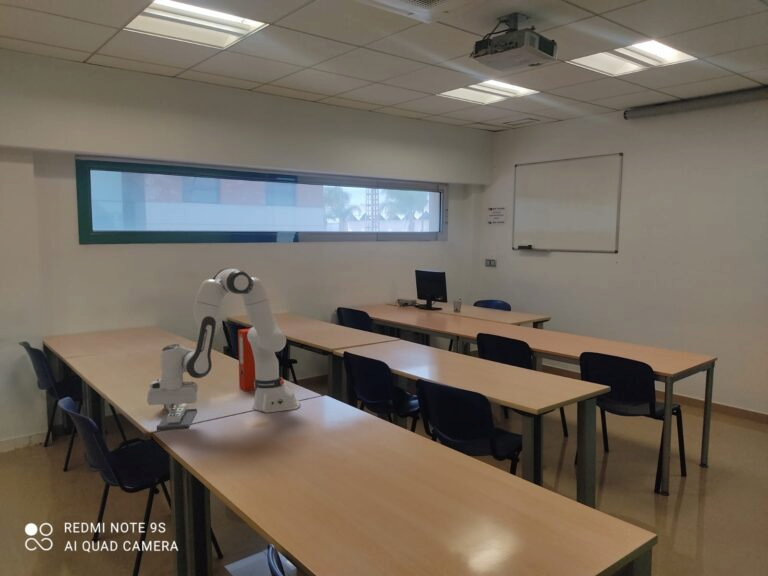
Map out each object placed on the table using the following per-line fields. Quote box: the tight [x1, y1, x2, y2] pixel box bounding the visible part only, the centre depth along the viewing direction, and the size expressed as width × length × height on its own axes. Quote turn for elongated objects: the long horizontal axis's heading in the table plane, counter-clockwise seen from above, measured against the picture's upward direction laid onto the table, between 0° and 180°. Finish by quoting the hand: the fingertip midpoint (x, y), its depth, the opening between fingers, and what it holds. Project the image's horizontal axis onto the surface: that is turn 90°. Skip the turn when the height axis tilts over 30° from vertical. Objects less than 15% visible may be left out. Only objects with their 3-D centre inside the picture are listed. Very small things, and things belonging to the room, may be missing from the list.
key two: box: [172, 408, 185, 416], centre depth 239 cm, size 5×5×2 cm
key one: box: [174, 403, 188, 411], centre depth 246 cm, size 5×5×2 cm
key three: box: [167, 413, 181, 423], centre depth 232 cm, size 5×5×2 cm
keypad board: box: [156, 407, 198, 431], centre depth 239 cm, size 13×21×2 cm, turn 10°
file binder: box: [237, 327, 256, 392], centre depth 290 cm, size 8×17×32 cm, turn 126°
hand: (173, 413), depth 231 cm, fingers closed
